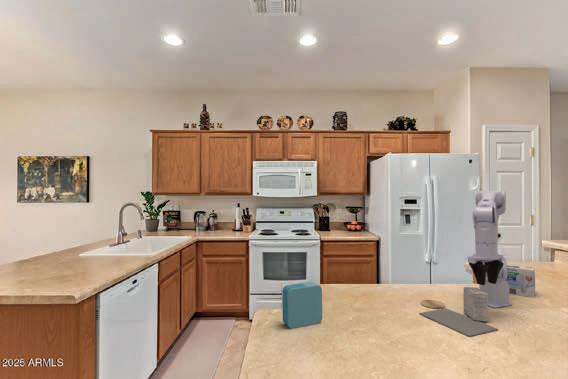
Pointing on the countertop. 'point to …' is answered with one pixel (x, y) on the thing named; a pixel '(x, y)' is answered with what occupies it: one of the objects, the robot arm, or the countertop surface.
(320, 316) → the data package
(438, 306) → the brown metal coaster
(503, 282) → the robot arm
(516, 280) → the light bulb box
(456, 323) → the mat
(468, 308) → the medicine box
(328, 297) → the countertop surface
